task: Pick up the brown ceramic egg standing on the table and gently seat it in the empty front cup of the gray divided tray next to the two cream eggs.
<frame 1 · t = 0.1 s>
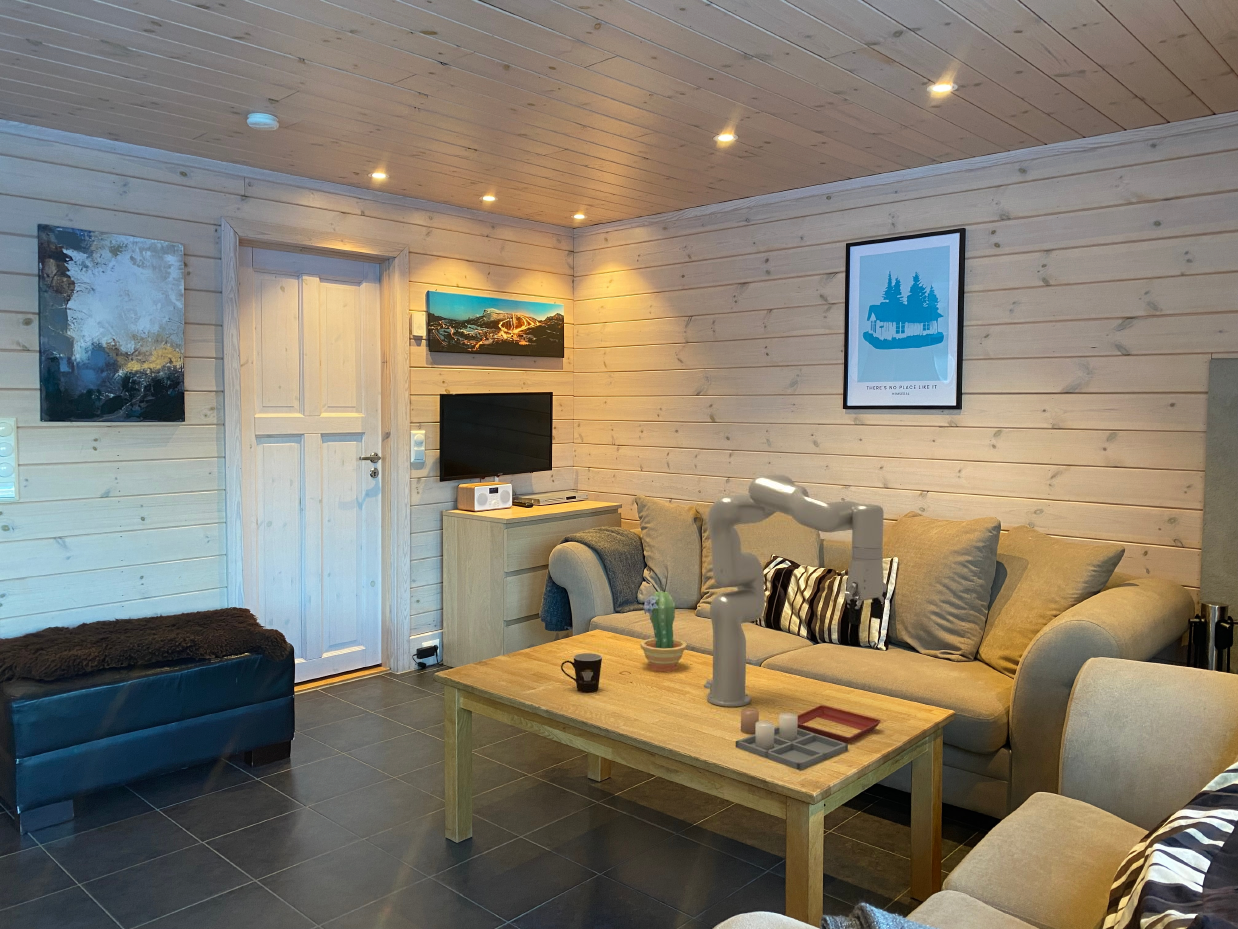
hand: (865, 621, 230), 31 cm above the table, fingers open, 9 cm apart
coffee mug: (583, 689, 275), on the table
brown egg: (749, 734, 238), on the table
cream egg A: (764, 747, 225), point 1 cm above the table, touching gray divided tray
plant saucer: (834, 733, 241), on the table
gray divided tray: (791, 751, 225), on the table
cream egg B: (787, 739, 232), point 1 cm above the table, touching gray divided tray
potted cactus: (663, 668, 299), on the table
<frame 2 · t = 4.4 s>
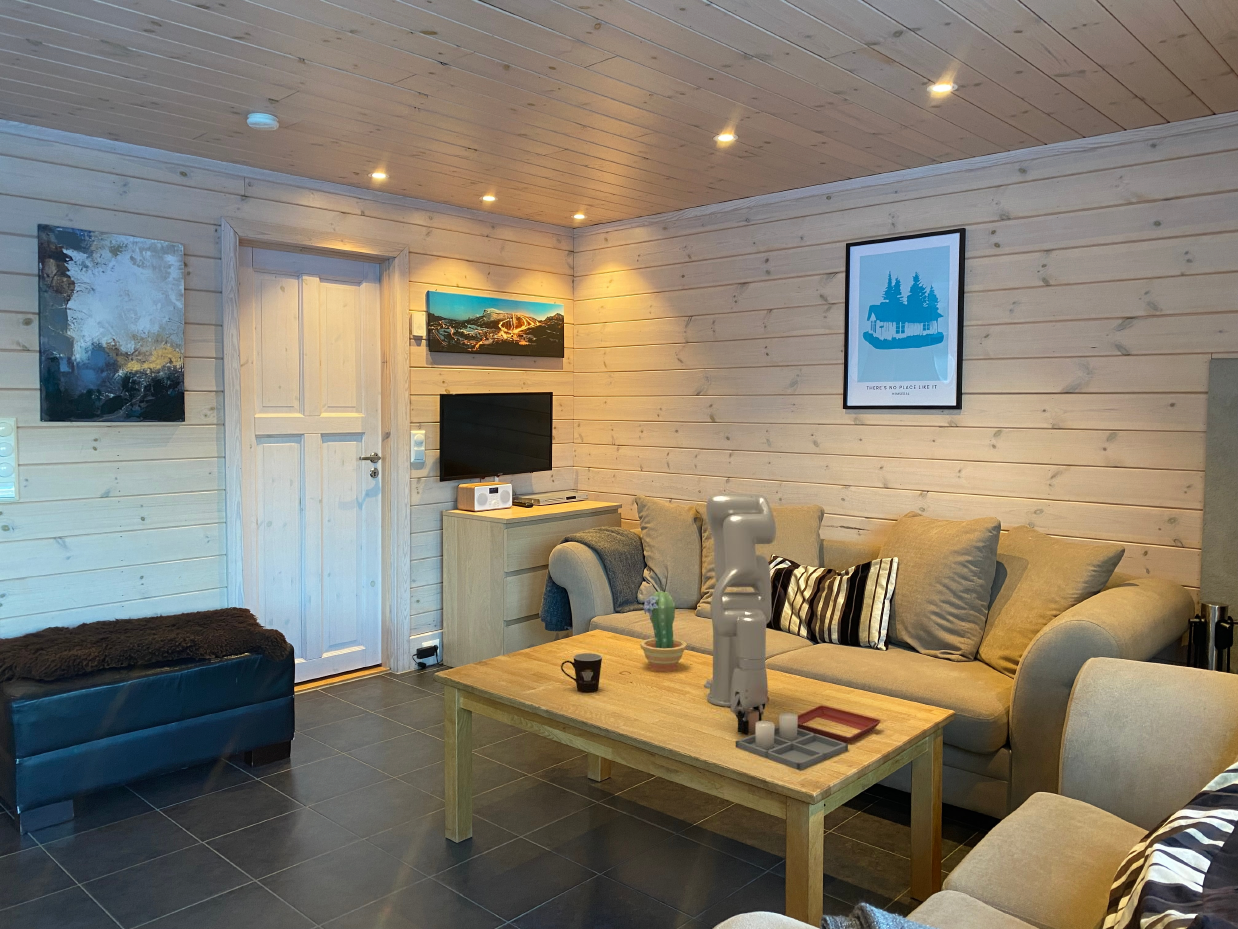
hand: (749, 731, 238), 1 cm above the table, fingers closed on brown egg, 4 cm apart
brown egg: (749, 734, 238), on the table, touching gripper
everything else where it was.
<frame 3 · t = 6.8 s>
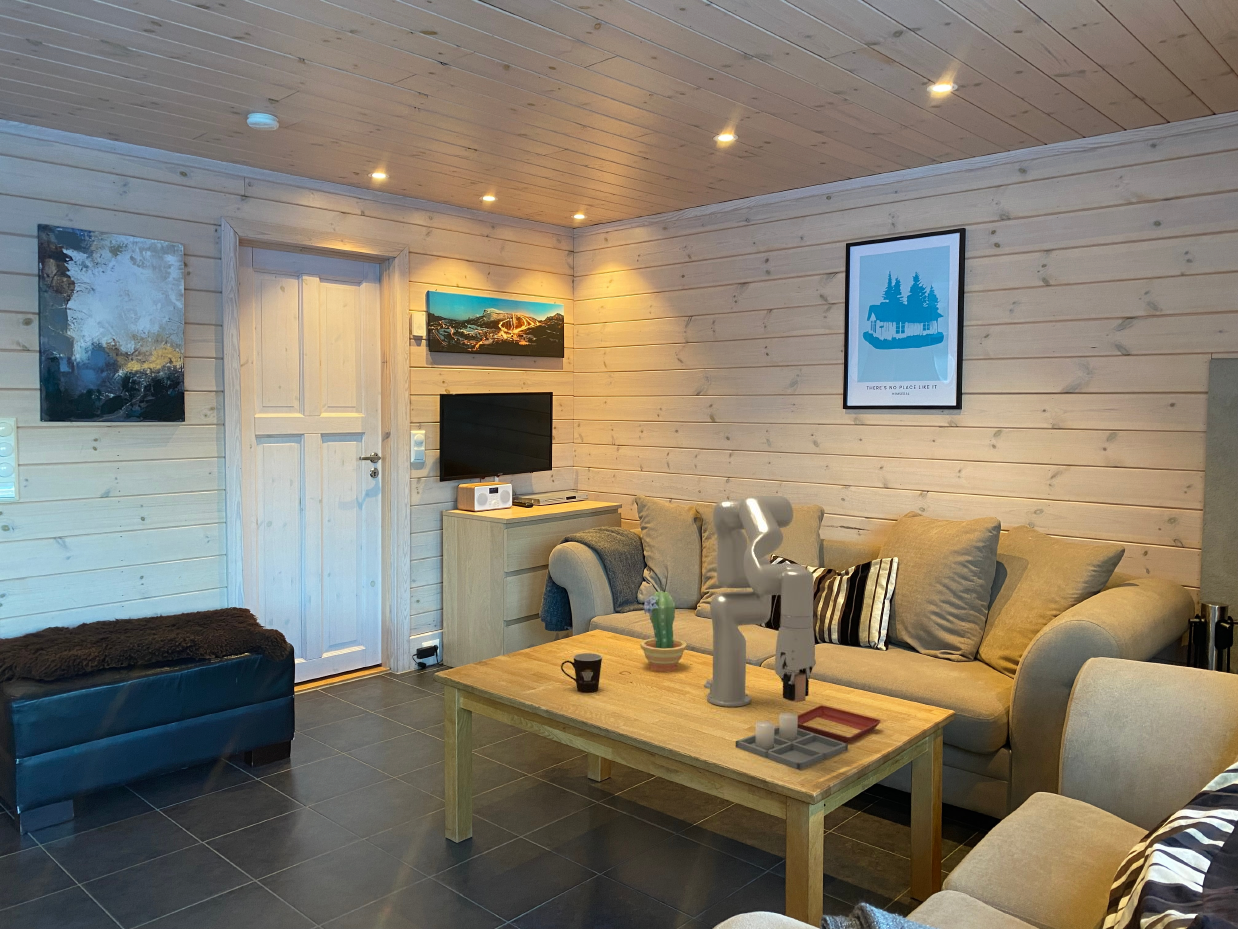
hand: (795, 696, 218), 16 cm above the table, fingers closed on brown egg, 4 cm apart
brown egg: (795, 699, 218), point 15 cm above the table, touching gripper
everything else where it was.
when the fingers open (3 cm above the table, at t = 9.5 s): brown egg drops 1 cm, resting on gray divided tray.
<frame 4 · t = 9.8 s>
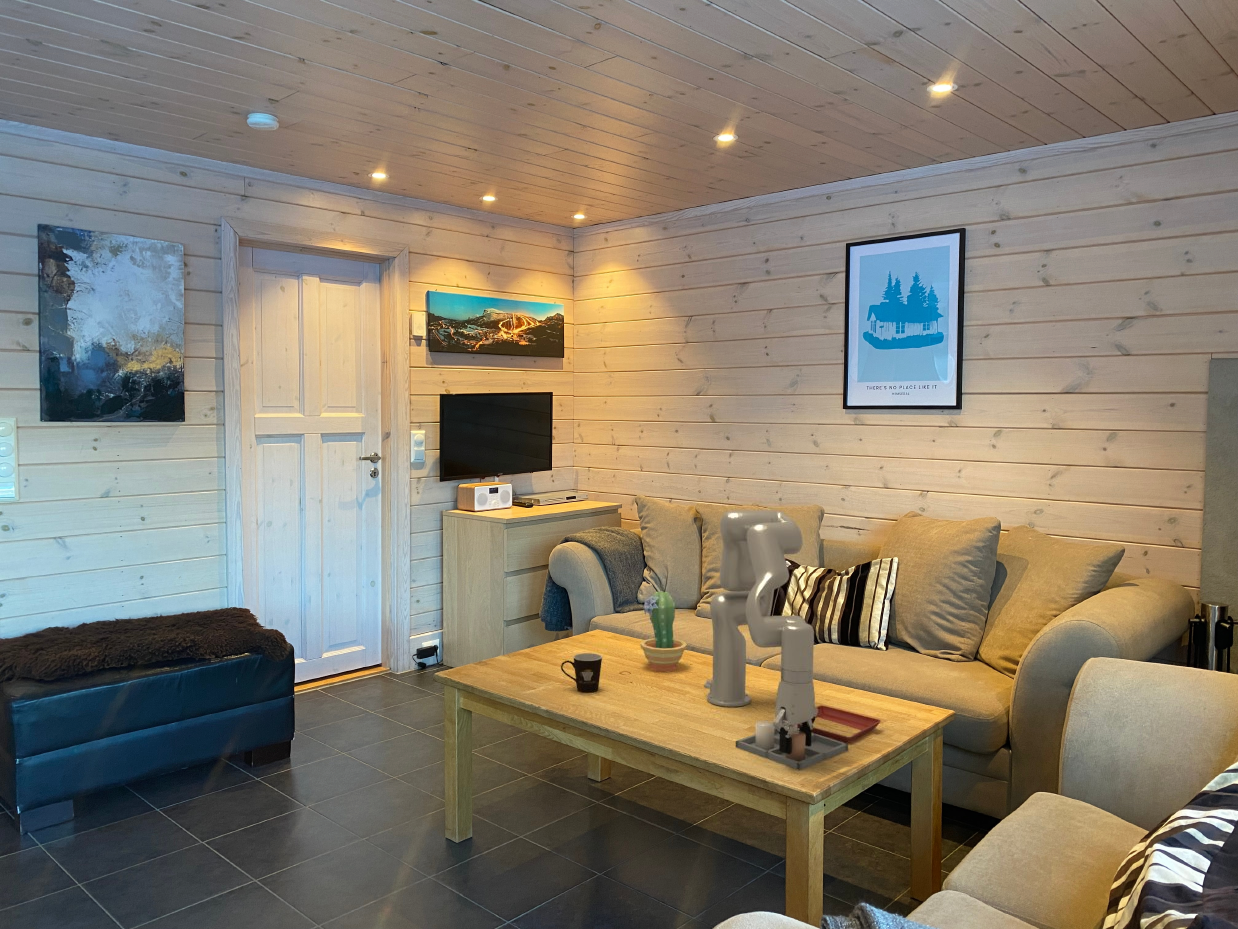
hand: (795, 748, 218), 3 cm above the table, fingers open, 7 cm apart
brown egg: (795, 758, 219), point 1 cm above the table, touching gray divided tray
everything else where it was.
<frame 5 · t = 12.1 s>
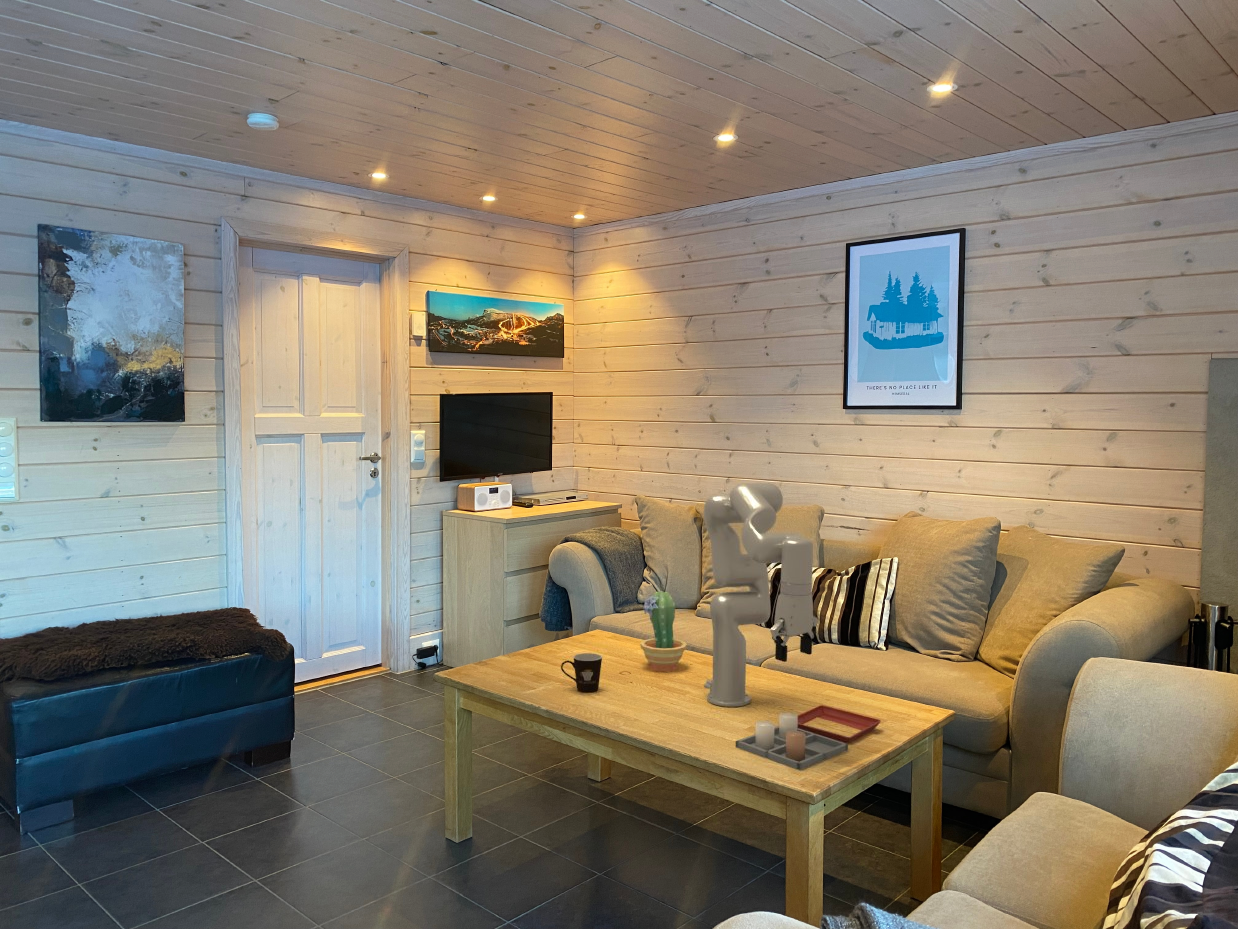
hand: (793, 656, 226), 23 cm above the table, fingers open, 9 cm apart
nothing on the table moved.
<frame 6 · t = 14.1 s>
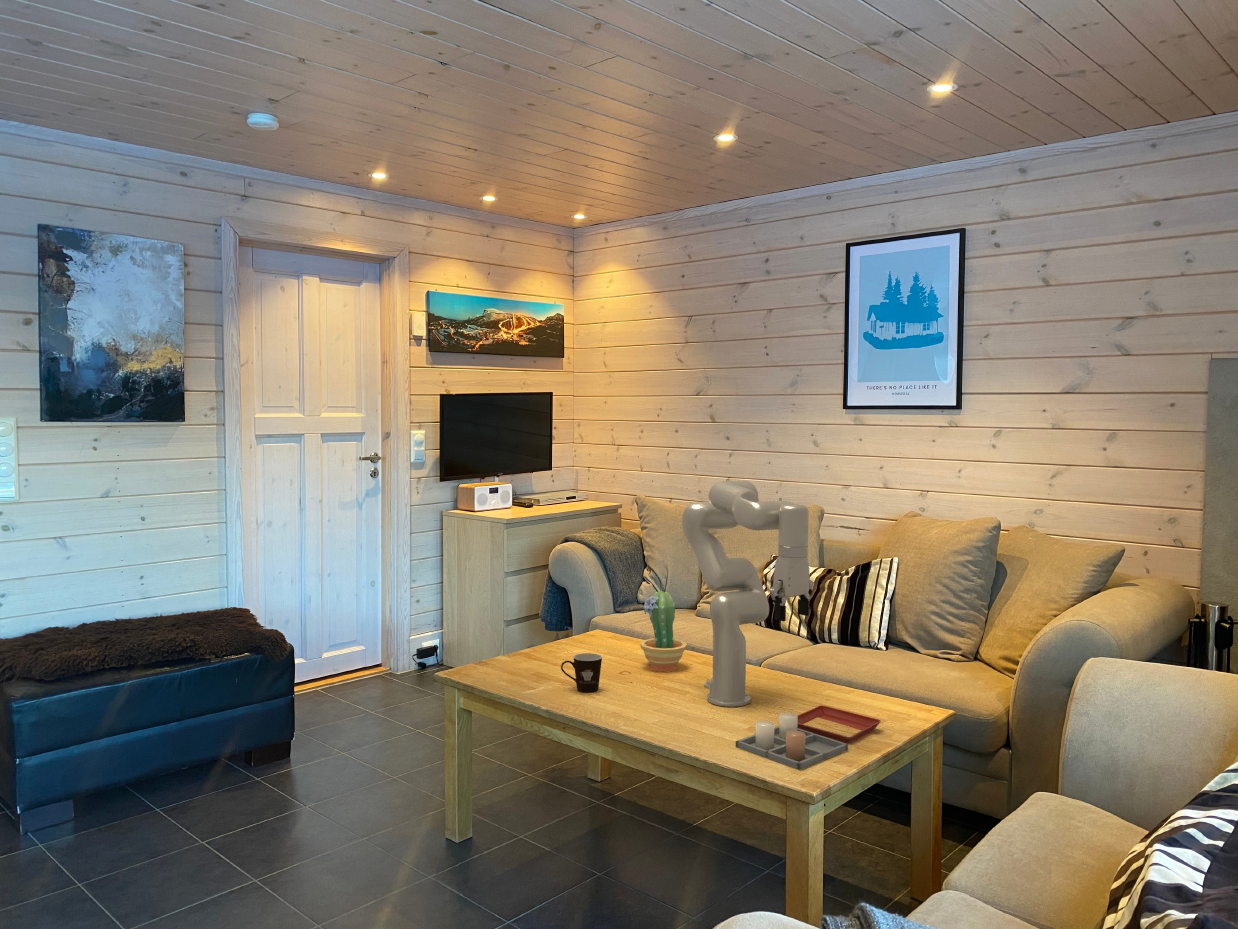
hand: (791, 617, 238), 30 cm above the table, fingers open, 9 cm apart
nothing on the table moved.
at the end: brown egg 0.1 cm from the target spot on the gray divided tray, point 0.8 cm above the gray divided tray's base; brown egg tilted 0°; the gripper is holding nothing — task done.
